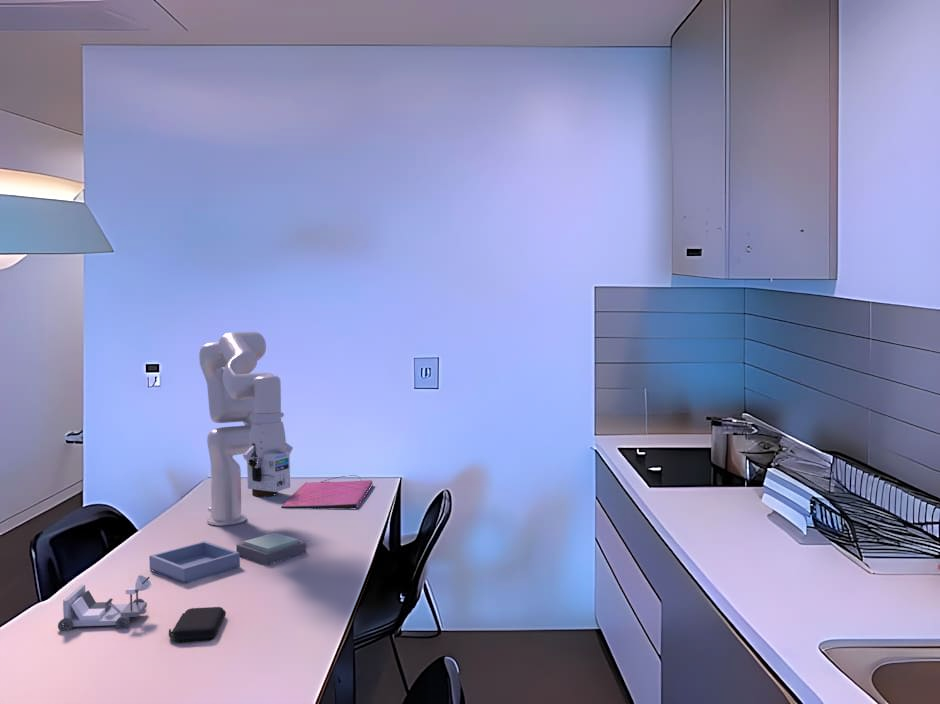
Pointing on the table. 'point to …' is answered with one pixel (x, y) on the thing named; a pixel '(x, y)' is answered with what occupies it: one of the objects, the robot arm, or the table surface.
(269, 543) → the pad
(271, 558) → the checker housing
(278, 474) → the light bulb box
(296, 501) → the laptop bag
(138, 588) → the toy car
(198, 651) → the table surface
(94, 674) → the table surface
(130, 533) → the table surface
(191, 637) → the carrying case or bag
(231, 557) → the tray
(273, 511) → the table surface
